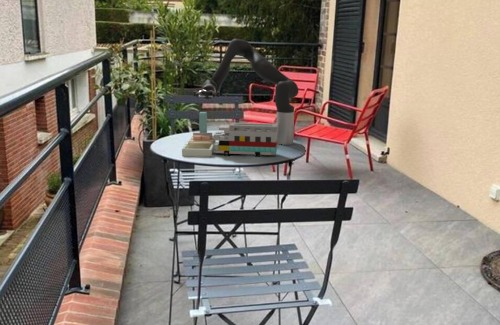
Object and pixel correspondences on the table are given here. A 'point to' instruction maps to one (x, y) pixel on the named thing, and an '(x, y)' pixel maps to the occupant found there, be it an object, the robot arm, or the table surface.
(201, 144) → the board
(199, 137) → the tile
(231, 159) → the table surface
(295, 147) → the table surface
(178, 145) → the table surface
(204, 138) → the tile
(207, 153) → the tray
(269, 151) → the toy vehicle
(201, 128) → the tall teal pillar block
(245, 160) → the table surface
